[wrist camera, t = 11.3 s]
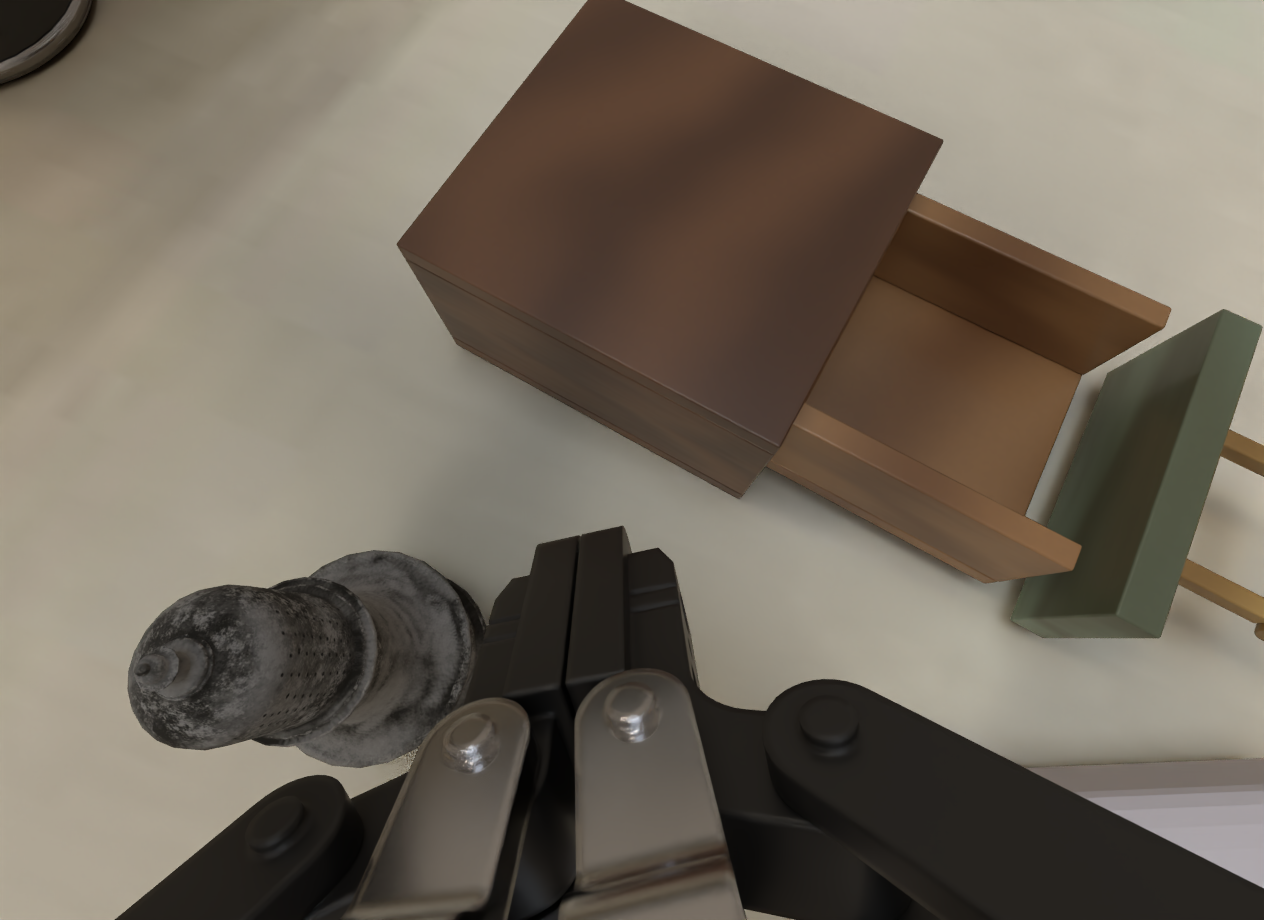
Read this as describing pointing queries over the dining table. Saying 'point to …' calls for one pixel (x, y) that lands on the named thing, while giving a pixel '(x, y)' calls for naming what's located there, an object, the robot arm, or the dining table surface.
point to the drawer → (1028, 426)
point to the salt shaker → (312, 661)
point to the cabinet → (667, 235)
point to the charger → (1184, 804)
